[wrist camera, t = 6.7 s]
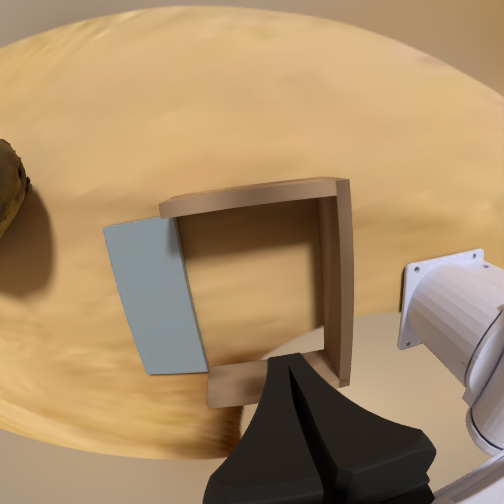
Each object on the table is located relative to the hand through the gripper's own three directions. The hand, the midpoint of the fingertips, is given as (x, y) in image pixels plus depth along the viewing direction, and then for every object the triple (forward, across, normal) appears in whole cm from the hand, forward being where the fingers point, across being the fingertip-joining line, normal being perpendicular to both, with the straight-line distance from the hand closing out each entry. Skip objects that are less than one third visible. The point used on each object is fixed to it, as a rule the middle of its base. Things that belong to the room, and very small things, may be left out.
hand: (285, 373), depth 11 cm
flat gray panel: (+9, +5, 0) cm, 10 cm away
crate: (+9, 0, 0) cm, 9 cm away
